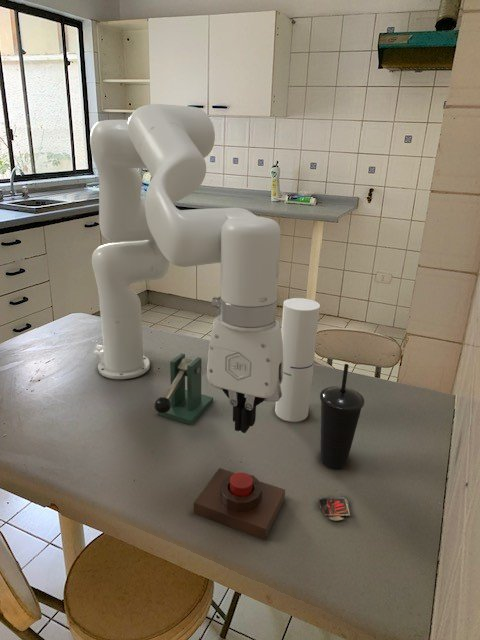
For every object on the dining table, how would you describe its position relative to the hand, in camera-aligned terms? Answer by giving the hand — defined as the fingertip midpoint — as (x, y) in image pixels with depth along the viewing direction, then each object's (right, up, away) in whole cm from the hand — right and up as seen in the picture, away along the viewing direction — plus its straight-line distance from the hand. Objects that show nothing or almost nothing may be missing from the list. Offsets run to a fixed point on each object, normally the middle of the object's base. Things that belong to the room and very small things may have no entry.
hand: (243, 426), depth 69 cm
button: (0, -11, +4) cm, 12 cm away
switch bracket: (-12, -3, +32) cm, 34 cm away
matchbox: (+15, -15, +6) cm, 22 cm away
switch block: (-1, -14, +6) cm, 15 cm away
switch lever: (-14, +1, +26) cm, 29 cm away
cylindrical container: (+11, -4, +32) cm, 34 cm away
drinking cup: (+17, -10, +17) cm, 26 cm away
